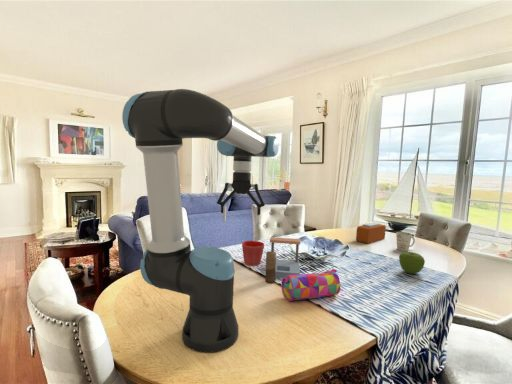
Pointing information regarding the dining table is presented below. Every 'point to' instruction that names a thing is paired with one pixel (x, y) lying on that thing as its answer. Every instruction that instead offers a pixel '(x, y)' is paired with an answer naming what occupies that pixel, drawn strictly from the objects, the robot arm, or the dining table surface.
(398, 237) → the mug
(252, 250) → the flower pot
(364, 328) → the dining table surface
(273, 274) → the dowel
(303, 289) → the pencil case
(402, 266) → the apple
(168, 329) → the dining table surface
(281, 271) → the socket board
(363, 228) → the orange rectangular block
